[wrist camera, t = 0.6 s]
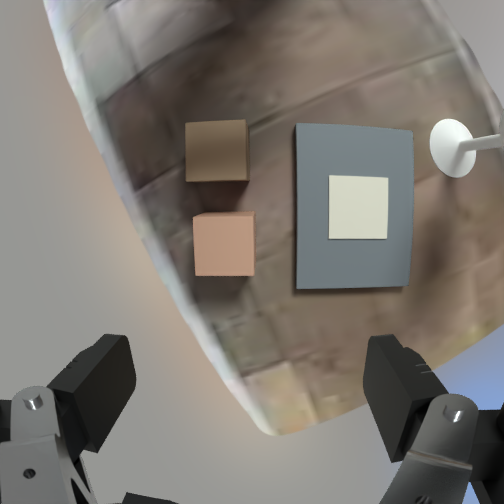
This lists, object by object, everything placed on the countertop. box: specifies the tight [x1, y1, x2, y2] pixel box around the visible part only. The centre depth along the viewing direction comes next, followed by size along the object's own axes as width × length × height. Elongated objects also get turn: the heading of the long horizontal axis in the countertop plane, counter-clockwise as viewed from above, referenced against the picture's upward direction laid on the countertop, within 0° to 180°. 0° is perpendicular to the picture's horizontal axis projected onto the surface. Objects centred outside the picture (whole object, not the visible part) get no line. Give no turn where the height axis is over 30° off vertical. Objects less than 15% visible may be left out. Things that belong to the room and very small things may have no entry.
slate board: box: [295, 123, 414, 289], centre depth 31 cm, size 16×12×1 cm
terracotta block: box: [193, 211, 256, 276], centre depth 30 cm, size 5×5×6 cm
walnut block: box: [185, 120, 250, 182], centre depth 28 cm, size 5×5×6 cm
